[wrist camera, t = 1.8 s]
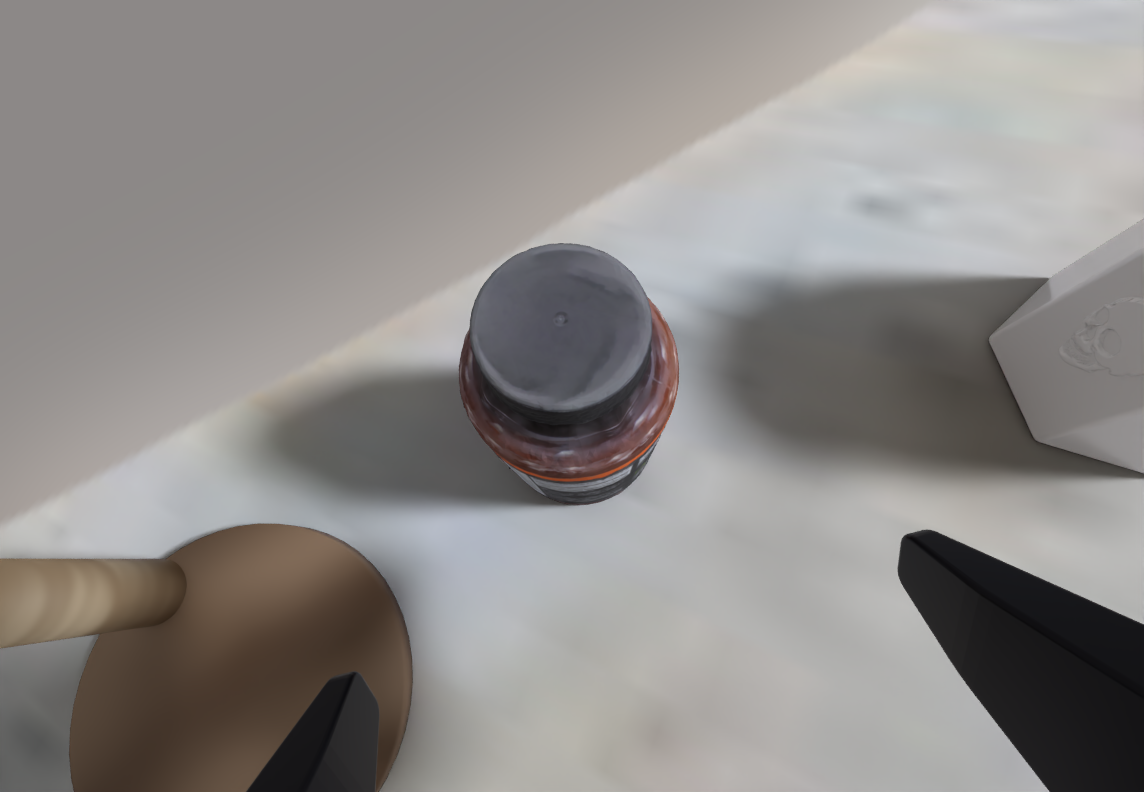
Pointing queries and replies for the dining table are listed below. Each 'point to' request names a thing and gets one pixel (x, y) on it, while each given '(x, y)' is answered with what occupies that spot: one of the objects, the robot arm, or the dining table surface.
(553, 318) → the supplement bottle
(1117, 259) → the jar
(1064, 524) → the dining table surface
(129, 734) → the flange plate
